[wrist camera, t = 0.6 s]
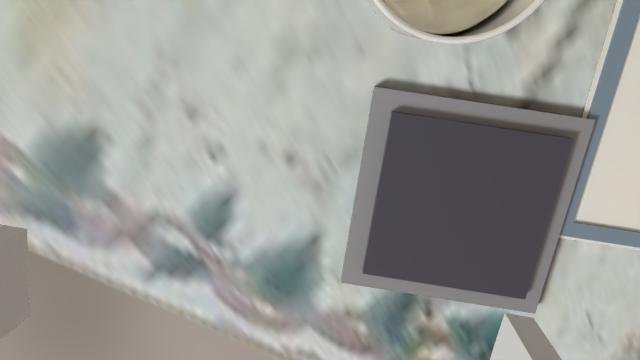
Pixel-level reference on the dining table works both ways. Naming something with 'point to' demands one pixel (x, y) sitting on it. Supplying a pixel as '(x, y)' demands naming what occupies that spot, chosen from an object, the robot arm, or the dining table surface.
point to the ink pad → (462, 198)
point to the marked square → (611, 142)
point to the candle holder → (452, 18)
